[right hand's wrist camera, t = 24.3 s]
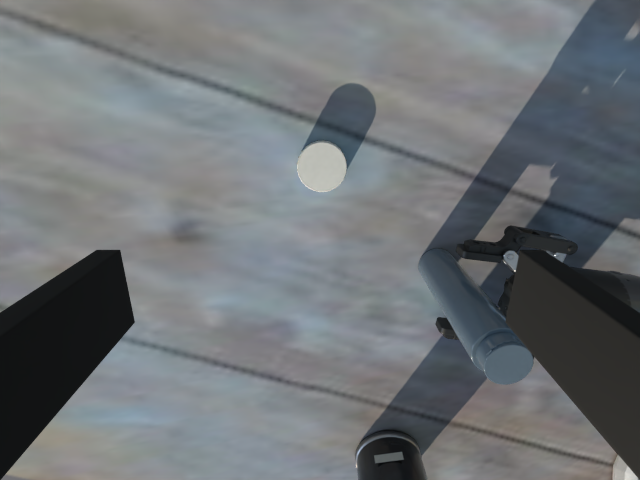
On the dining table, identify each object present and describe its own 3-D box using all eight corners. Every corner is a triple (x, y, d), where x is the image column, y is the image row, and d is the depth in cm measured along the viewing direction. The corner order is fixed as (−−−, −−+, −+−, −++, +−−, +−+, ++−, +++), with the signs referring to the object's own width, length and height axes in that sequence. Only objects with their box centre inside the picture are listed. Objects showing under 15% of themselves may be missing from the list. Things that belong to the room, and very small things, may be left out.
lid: (290, 178, 40) (289, 181, 38) (307, 132, 38) (307, 133, 37) (335, 195, 41) (335, 199, 39) (353, 150, 39) (355, 153, 37)
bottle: (461, 260, 43) (550, 358, 26) (438, 286, 44) (509, 397, 28) (433, 241, 42) (507, 330, 26) (410, 269, 44) (467, 371, 27)
